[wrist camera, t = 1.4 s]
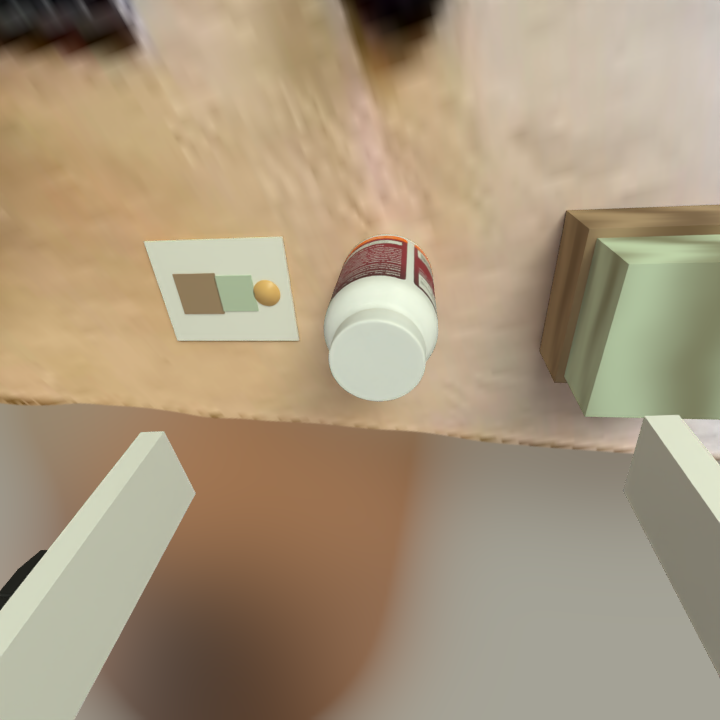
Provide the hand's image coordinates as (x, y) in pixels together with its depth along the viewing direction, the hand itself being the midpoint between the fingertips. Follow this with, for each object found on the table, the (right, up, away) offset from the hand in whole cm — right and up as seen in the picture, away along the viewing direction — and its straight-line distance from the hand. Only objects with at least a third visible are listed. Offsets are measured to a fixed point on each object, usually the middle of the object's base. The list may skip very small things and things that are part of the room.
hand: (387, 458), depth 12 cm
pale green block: (+17, +8, +16) cm, 24 cm away
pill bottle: (+1, +9, +17) cm, 19 cm away
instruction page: (-11, +8, +19) cm, 23 cm away
